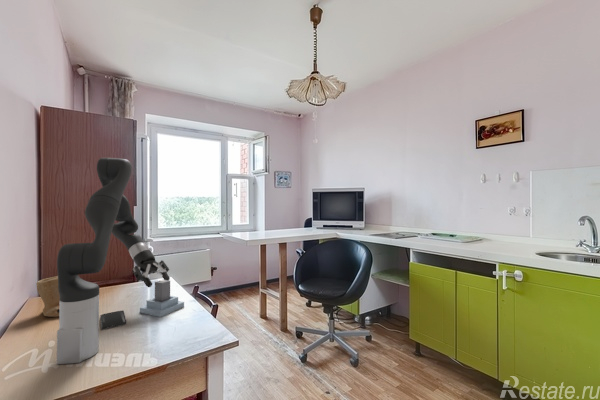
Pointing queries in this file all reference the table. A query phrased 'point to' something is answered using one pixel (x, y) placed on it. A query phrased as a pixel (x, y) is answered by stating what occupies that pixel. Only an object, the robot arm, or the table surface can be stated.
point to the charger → (162, 290)
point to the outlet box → (161, 306)
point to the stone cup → (49, 296)
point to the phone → (112, 319)
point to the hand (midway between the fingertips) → (159, 283)
